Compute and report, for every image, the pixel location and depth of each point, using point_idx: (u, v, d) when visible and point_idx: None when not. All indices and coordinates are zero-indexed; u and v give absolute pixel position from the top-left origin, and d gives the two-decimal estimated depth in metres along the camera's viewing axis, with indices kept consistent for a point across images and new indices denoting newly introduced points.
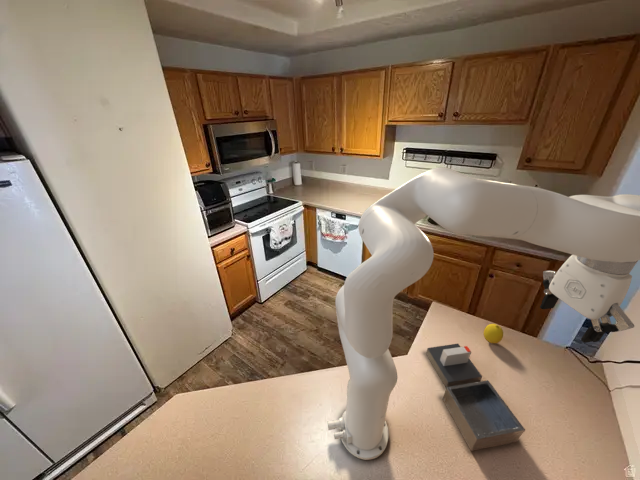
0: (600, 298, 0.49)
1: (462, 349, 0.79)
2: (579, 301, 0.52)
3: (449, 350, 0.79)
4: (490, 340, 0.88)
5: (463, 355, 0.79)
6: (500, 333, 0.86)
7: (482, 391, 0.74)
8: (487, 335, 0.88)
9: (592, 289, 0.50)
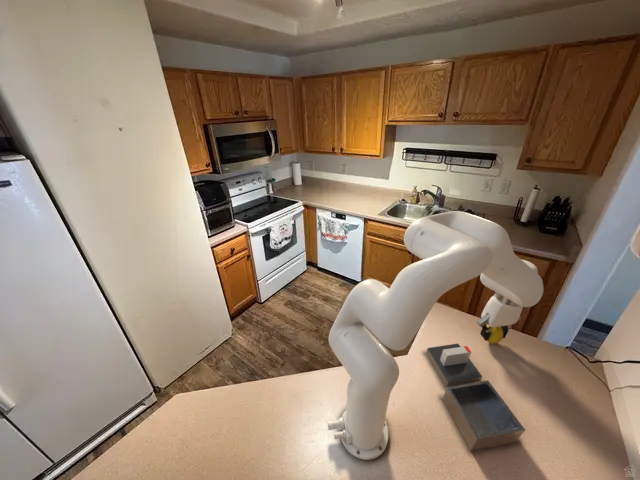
0: None
1: (462, 349, 0.79)
2: None
3: (449, 350, 0.79)
4: (490, 340, 0.88)
5: (463, 355, 0.79)
6: (500, 333, 0.86)
7: (482, 391, 0.74)
8: None
9: None
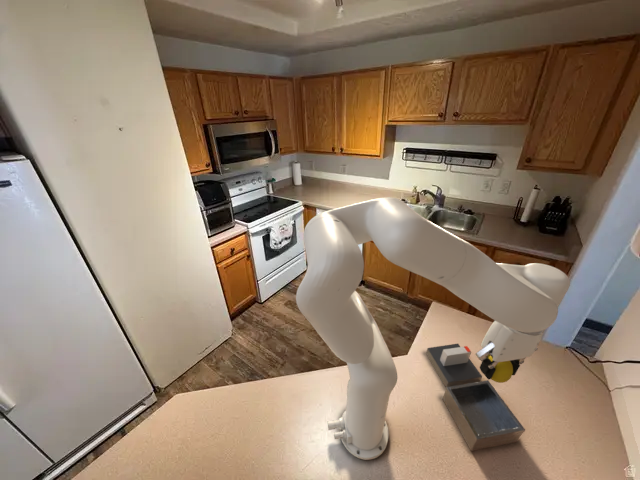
0: None
1: (462, 349, 0.79)
2: None
3: (449, 350, 0.79)
4: (494, 378, 0.62)
5: (463, 355, 0.79)
6: (509, 369, 0.60)
7: (482, 391, 0.74)
8: None
9: None
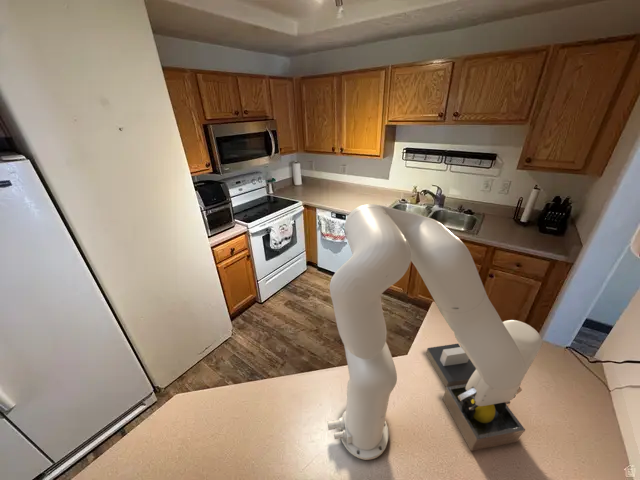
0: None
1: (462, 349, 0.79)
2: None
3: (449, 350, 0.79)
4: (478, 419, 0.66)
5: (463, 355, 0.79)
6: (491, 412, 0.64)
7: None
8: None
9: None
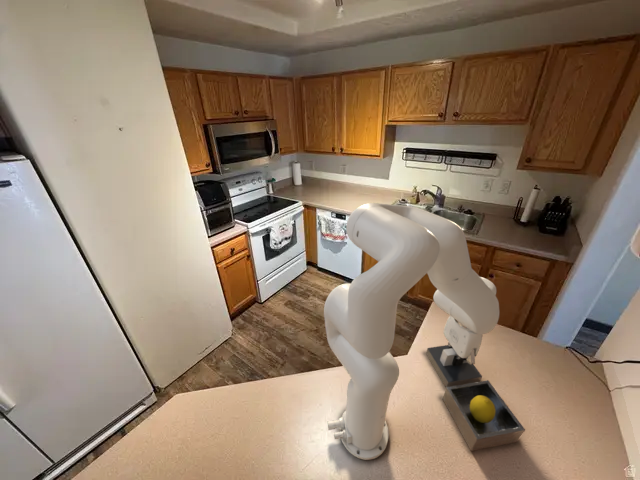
0: (464, 345, 0.71)
1: None
2: (456, 345, 0.74)
3: (449, 350, 0.79)
4: (478, 419, 0.66)
5: None
6: (491, 412, 0.64)
7: (482, 391, 0.74)
8: (474, 413, 0.66)
9: (460, 338, 0.72)
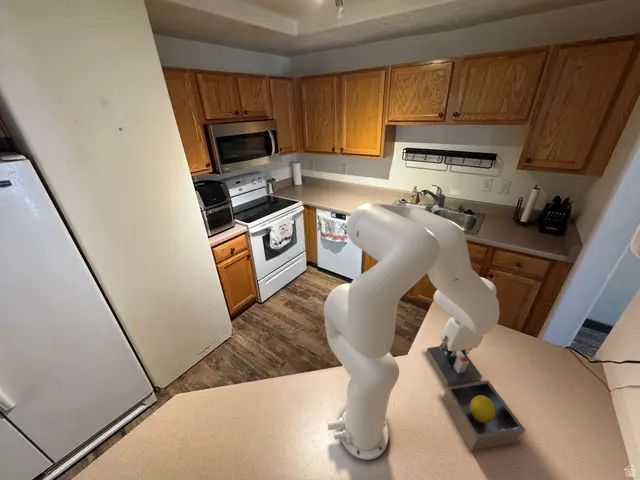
0: None
1: (462, 356, 0.77)
2: None
3: None
4: (478, 419, 0.66)
5: (456, 358, 0.78)
6: (491, 412, 0.64)
7: (482, 391, 0.74)
8: (474, 413, 0.66)
9: None
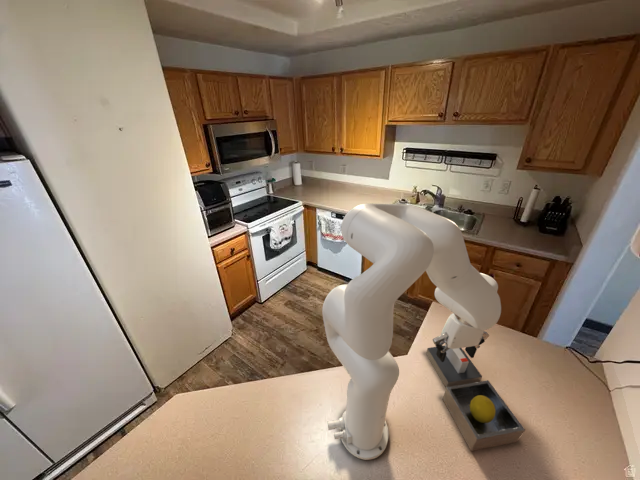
0: None
1: (462, 356, 0.77)
2: None
3: None
4: (478, 419, 0.66)
5: (456, 358, 0.78)
6: (491, 412, 0.64)
7: (482, 391, 0.74)
8: (474, 413, 0.66)
9: None
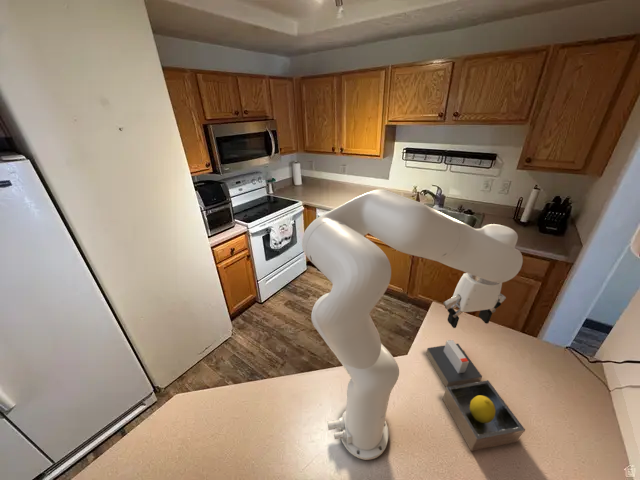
0: None
1: (462, 356, 0.77)
2: None
3: (454, 344, 0.81)
4: (478, 419, 0.66)
5: (456, 358, 0.78)
6: (491, 412, 0.64)
7: (482, 391, 0.74)
8: (474, 413, 0.66)
9: None
